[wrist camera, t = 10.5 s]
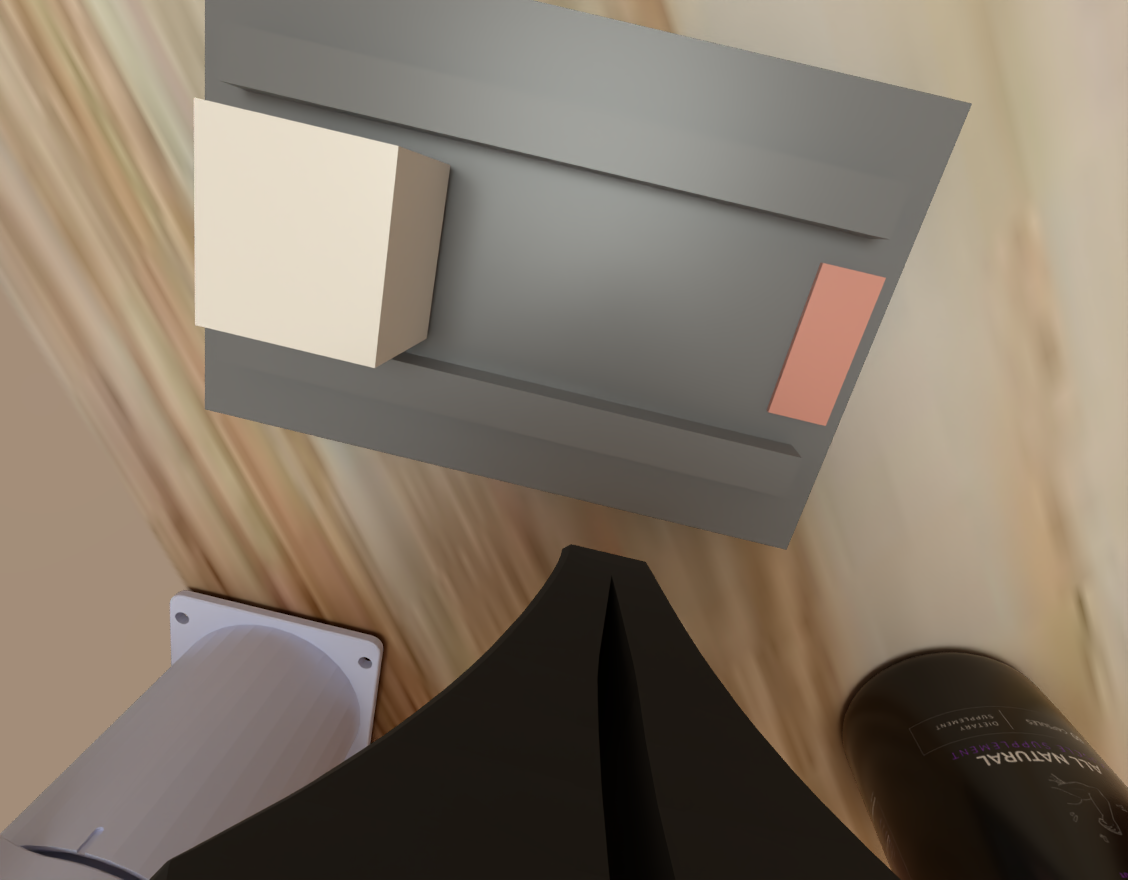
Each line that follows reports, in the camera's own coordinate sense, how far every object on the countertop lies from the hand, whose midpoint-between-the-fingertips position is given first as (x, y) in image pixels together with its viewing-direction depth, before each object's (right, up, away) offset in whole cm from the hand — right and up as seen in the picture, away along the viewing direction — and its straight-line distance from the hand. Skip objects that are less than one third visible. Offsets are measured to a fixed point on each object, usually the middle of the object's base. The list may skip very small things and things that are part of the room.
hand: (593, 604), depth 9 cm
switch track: (-1, +7, +7) cm, 11 cm away
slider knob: (-6, +8, +6) cm, 11 cm away
